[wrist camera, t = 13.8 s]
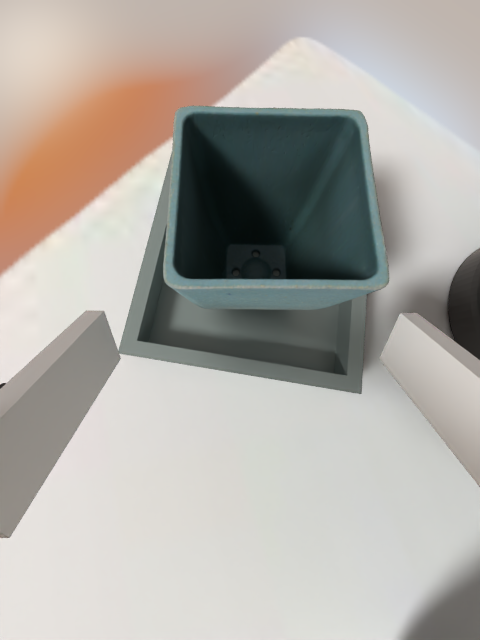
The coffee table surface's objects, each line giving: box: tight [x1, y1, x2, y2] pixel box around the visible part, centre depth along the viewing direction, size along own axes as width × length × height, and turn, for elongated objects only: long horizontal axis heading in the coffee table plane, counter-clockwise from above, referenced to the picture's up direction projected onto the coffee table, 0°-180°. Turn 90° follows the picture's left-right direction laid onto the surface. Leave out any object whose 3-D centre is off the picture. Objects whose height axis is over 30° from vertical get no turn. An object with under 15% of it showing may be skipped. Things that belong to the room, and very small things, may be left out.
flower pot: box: [163, 106, 389, 310], centre depth 14 cm, size 9×9×9 cm
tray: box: [118, 154, 367, 394], centre depth 18 cm, size 16×16×3 cm
